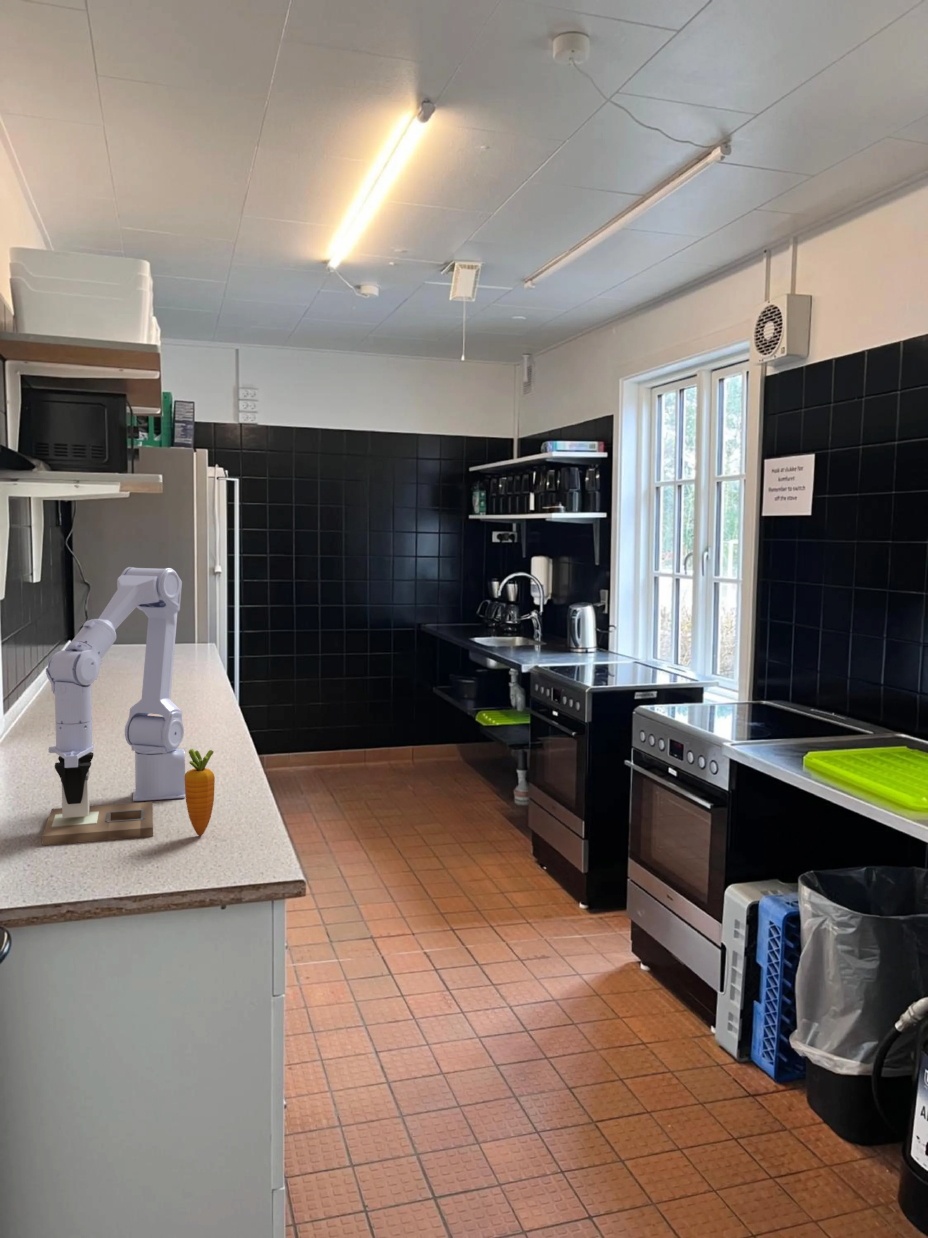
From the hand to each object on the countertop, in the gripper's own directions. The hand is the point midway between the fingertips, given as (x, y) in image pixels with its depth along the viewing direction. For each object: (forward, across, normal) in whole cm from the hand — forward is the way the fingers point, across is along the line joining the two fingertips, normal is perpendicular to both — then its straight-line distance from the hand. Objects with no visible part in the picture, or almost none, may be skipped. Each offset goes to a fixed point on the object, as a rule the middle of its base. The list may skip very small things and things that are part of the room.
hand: (75, 799), depth 160 cm
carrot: (+5, +10, +20) cm, 23 cm away
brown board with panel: (+5, 0, +4) cm, 6 cm away
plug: (+2, 0, 0) cm, 2 cm away
